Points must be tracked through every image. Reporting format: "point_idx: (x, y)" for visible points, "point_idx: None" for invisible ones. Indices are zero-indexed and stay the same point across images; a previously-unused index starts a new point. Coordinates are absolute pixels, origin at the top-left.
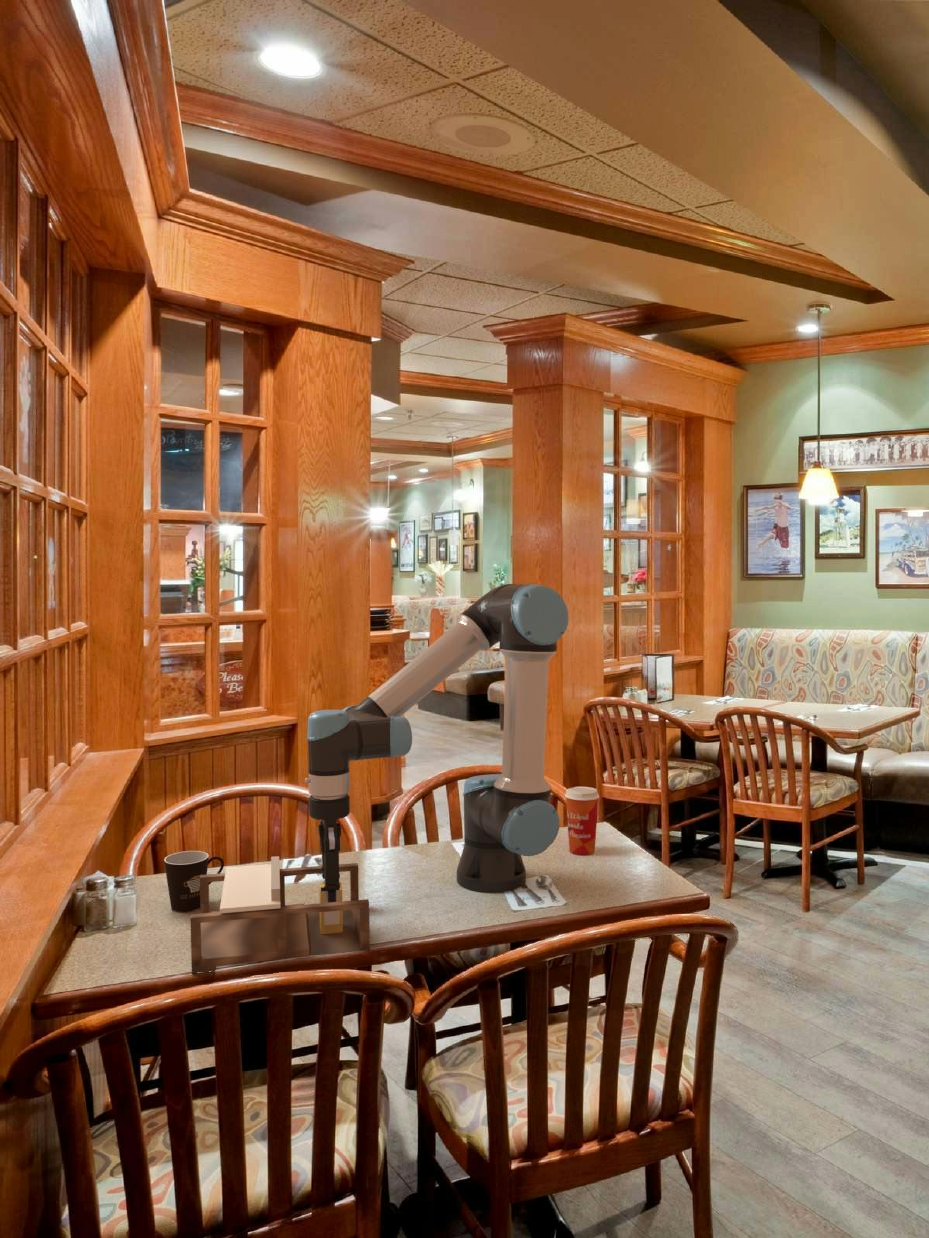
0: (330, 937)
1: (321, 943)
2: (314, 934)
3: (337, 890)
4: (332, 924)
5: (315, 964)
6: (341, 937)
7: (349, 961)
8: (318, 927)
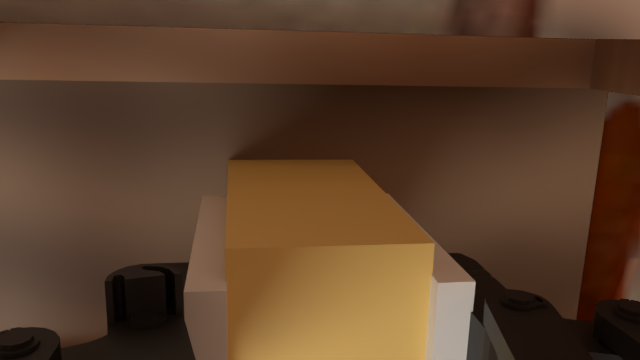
0: None
1: None
2: None
3: (470, 289)
4: None
5: (582, 288)
6: (420, 172)
7: (607, 142)
8: None
